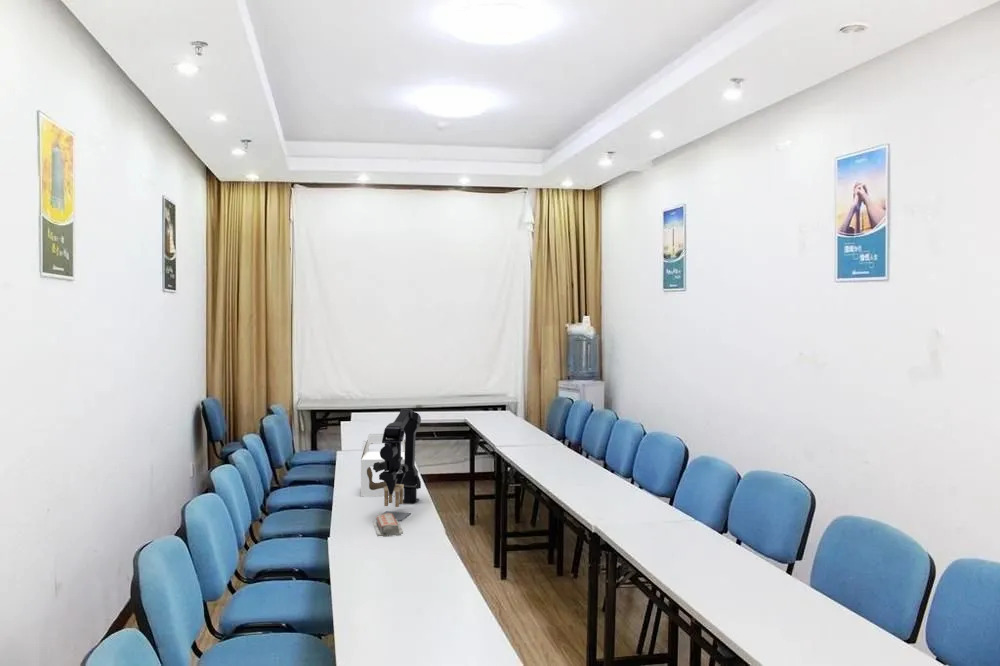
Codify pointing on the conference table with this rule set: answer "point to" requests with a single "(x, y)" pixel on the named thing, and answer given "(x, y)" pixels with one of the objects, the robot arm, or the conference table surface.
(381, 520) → the packaged product
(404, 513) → the mat
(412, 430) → the robot arm
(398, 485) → the stool
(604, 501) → the conference table surface
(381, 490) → the gable box
